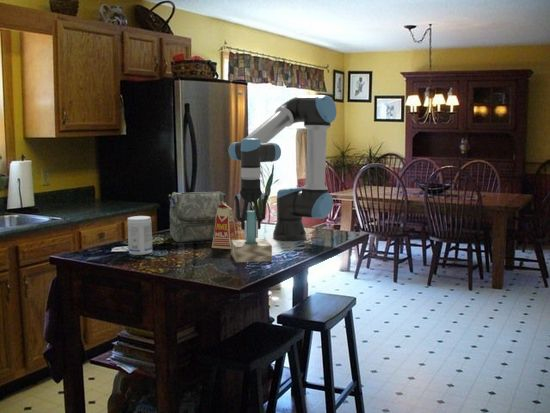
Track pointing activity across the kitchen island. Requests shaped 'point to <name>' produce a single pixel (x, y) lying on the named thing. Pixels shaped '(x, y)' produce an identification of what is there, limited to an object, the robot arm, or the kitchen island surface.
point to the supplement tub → (139, 235)
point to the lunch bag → (194, 215)
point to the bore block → (251, 251)
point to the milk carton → (224, 227)
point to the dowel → (251, 227)
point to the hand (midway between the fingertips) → (250, 237)
